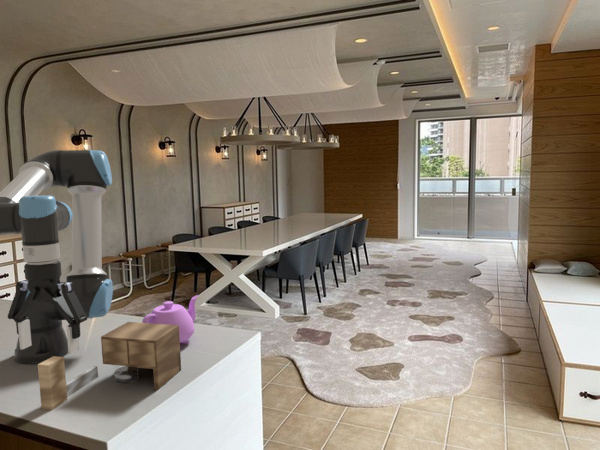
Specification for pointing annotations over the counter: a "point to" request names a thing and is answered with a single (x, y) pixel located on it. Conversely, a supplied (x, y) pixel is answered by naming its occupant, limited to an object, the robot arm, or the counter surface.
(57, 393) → the wood and metal l-shape
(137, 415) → the counter surface
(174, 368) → the small wooden cabinet
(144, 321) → the teapot
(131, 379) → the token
